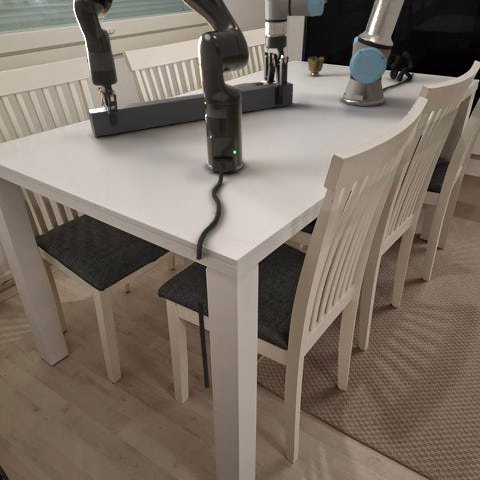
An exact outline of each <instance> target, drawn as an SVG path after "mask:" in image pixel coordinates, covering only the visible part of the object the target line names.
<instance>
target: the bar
mask: <svg viewBox="0 0 480 480" xmlns="http://www.w3.org/2000/svg"><path fill="white" fill-rule="evenodd" d="M275 86H277V82H274V83H273V84H266V85H259V86H252V87H245V88H239V89H240V90H241V94H242V113H246V112H252V111H258V110H264V109H271V108H276V107H282V106H283V107H284V106H288V105H293V102H294V101H293V100H294V99H293V98H294V97H293V96H294V83H292V82H289V81H287V85H286V86H283V104H281V105H275ZM117 108H118V113H116V115H117V120H118V125H116V126H112V125H111V124H110V118H109V113H108V109H107V107H104V108H103V107H98V108H91V109H87V112H88V117H89V124H90V127H91V131H92V134H93V136H95V137H102V136H108V135H114V134H120V133H126V132H131V131H137V130H138V131H139V130H145V129H150V128H156V127H162V126H163V127H164V126H167V125H173V124H180V123H186V122H192V121H199V120H204V119H205V120H206V118H205V101H204V94H203V93H197V94H196V93H195V94H190V95H181V96H175V97H168V98H161V99H155V100H147V101H140V102H133V103H125V104H119V105H118V104H117ZM111 109H114V107H113V106H112V107H111Z"/></svg>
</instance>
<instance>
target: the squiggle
mask: <svg viewBox="0 0 480 480" xmlns="http://www.w3.org/2000/svg"><path fill="white" fill-rule="evenodd" d="M401 57H402V59H401ZM391 59H392V60H391ZM393 60H394V61H393ZM406 62H407V65H408V66H407V67H405V66H404V65H405V64H406ZM386 66H387V67H390V68H391V70H390V72H389V78H390V79H391V80H395V79H396V81H397V82H398V83H400V82H402V81H403V79H404V76H406V79H407V78H408V79H409V80H408V81H412V80H413V79H414V77H413V76H412V75H411V74H412V73H410V72H409V71H410V70H412V69H413V68H414V64H413V61H412V57H411V54H410V53H409V52H408V51H403V53H402V54H401V55H396V54H394V53H392V52H390V55H389V57H388V60H387V65H386ZM400 70H401V71H400Z"/></svg>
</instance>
